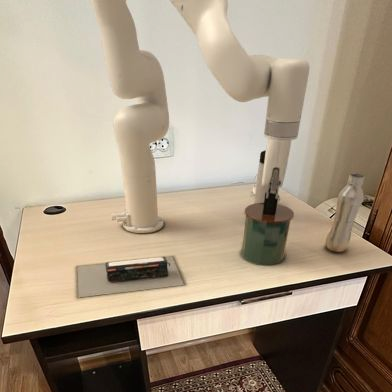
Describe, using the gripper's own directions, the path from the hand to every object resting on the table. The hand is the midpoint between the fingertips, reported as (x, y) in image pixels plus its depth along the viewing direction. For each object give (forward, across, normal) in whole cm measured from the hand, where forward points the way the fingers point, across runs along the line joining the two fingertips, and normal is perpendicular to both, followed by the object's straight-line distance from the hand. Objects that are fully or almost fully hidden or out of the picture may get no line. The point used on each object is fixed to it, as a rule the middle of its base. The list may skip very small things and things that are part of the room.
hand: (269, 210), depth 93 cm
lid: (+1, 0, 0) cm, 1 cm away
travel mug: (+12, -28, -1) cm, 31 cm away
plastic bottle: (+12, -8, +21) cm, 25 cm away
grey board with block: (+12, +18, -33) cm, 40 cm away
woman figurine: (+12, -43, -1) cm, 45 cm away
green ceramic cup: (+12, 0, 0) cm, 12 cm away
